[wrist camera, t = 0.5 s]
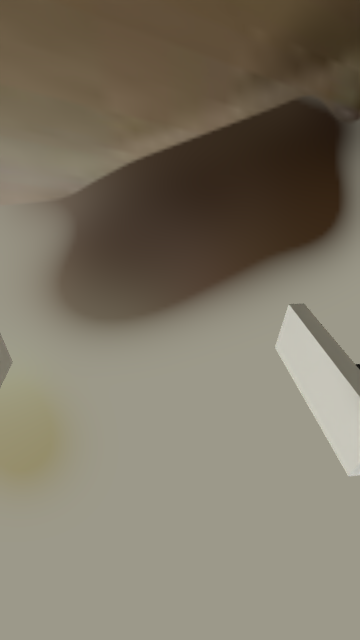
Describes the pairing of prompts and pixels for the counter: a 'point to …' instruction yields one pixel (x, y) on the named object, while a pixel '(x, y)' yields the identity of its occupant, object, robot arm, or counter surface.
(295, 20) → the counter surface
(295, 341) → the robot arm
